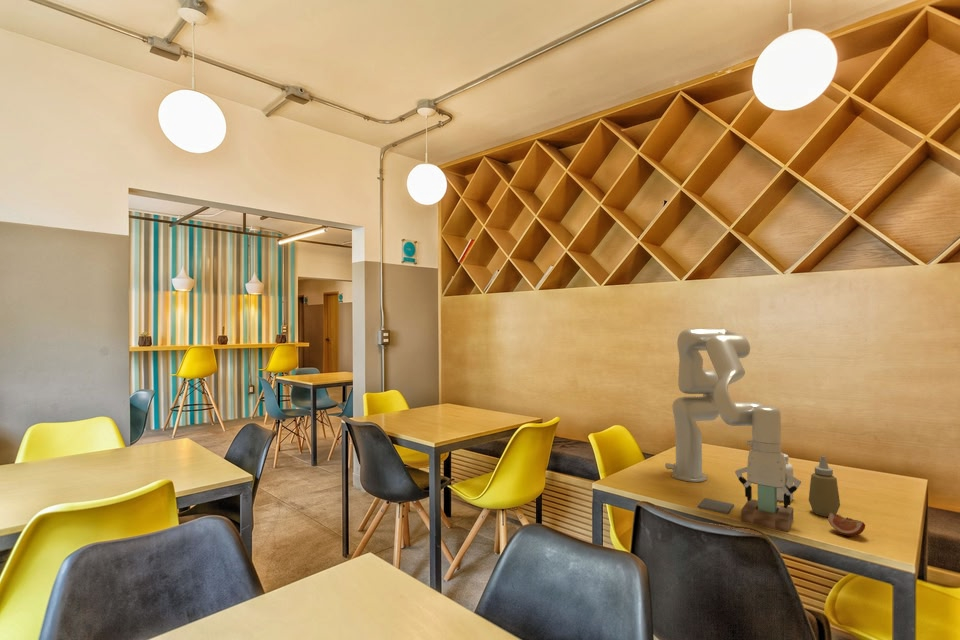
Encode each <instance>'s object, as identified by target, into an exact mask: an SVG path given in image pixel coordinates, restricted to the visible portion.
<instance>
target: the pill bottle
mask: <svg viewBox="0 0 960 640" xmlns="http://www.w3.org/2000/svg"><path fill="white" fill-rule="evenodd" d="M783 454H784V457H785V463H786V471H787V473H788V474H790V475H792V476H793V477H794V467H793V466H794V465H792V464H791V463H790V462H789V455H788V454H786V453H783ZM786 485H787V486H788V487H789V488H791V487H792V486H793V485H794V482H792V481H790V480H789V479H787V483H786ZM784 493H785V492H784V491H783V490H782V489H781V488H777V502H778V501H780V502H784ZM793 500H794V492H793V493H792V494H790V502H793Z"/></svg>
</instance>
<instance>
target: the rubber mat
mask: <svg viewBox="0 0 960 640" xmlns="http://www.w3.org/2000/svg"><path fill="white" fill-rule="evenodd" d="M696 506H697V508H699V509H703V510H708V511H712V512H715V513H721V514H725V515H729V513H730V512H731V510H733V509H734V507H735V504H734V503H730V502H725V501H722V500H721V501H720V500H715V499H712V498H711V499H710V498H706V497H704V498H703V499H702V500H701V501H700V502H699V503H698V504H697V505H696Z"/></svg>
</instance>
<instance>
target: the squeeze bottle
mask: <svg viewBox="0 0 960 640" xmlns="http://www.w3.org/2000/svg"><path fill="white" fill-rule="evenodd" d="M808 492H809V493H808V502H809V505H810V507H811V511H812V512H813V513H814V514H816V515H818V516H821V517H826V518H827V517H828V516H829V513H832V514H836V515H838V511H839V509H840V507H841V501H840V495H839V487H838V480H837V477H835V476H834V470H833V468H831V467H829V464H828V460H827V457H826V456H822V455H821V456H820V459H819V463H818V466H815V467H814V472H813V473H811V475H810V483H809V491H808Z"/></svg>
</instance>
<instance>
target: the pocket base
mask: <svg viewBox="0 0 960 640" xmlns="http://www.w3.org/2000/svg"><path fill="white" fill-rule="evenodd" d="M740 514H741V515H740V516H741V517H740V518H741V522H742V523H747V524H751V525H756V526H761V527H765V528H770V529H774V530H778V531H782V532H787V533H788V532H789V531H790V529H791V526H792V524H793V521H794V507H792V506H788V507H787V509H786V508H784V505H783V504H777V514H776V513H771V512H766V511H762V510H758V499H757V500H756V499H751V500H750V501H746V503H745V504H744V505H743V507H742V508H741V510H740Z"/></svg>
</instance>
